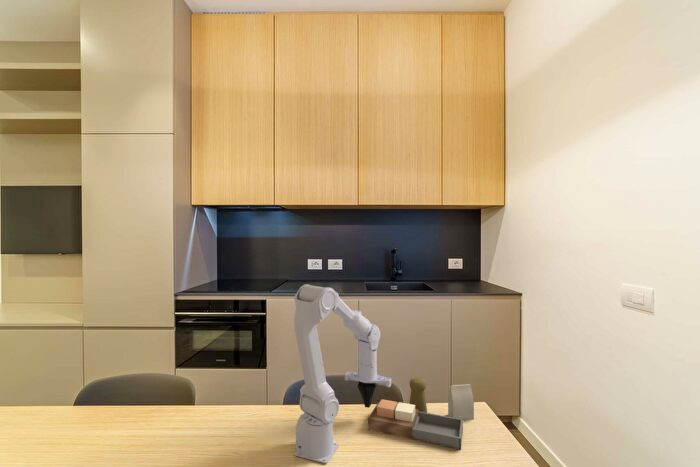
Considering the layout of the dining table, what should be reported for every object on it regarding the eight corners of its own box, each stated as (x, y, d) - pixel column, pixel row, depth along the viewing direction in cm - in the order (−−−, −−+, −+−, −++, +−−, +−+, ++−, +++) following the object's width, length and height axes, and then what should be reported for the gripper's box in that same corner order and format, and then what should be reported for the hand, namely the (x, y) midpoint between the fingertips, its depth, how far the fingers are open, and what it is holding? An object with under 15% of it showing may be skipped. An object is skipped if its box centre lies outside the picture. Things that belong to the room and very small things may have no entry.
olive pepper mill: (427, 419, 106) (427, 383, 106) (408, 417, 107) (407, 382, 107) (427, 409, 112) (427, 375, 112) (408, 407, 113) (408, 374, 113)
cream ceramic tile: (395, 418, 100) (395, 410, 100) (399, 410, 104) (399, 402, 104) (412, 421, 98) (412, 413, 98) (415, 413, 103) (415, 405, 103)
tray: (412, 439, 96) (412, 428, 96) (418, 421, 105) (418, 411, 105) (460, 449, 91) (460, 438, 91) (463, 429, 100) (462, 419, 100)
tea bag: (473, 419, 106) (473, 387, 106) (453, 421, 105) (453, 388, 105) (468, 413, 109) (467, 381, 109) (448, 414, 108) (447, 383, 108)
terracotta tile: (377, 415, 102) (377, 406, 102) (381, 407, 107) (381, 399, 107) (393, 418, 100) (393, 409, 100) (397, 410, 105) (397, 401, 105)
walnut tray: (368, 430, 100) (368, 418, 100) (378, 413, 110) (377, 402, 110) (412, 439, 96) (412, 426, 96) (418, 421, 105) (418, 409, 105)
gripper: (393, 360, 107) (393, 403, 107) (350, 354, 112) (350, 396, 112) (387, 368, 100) (388, 415, 100) (342, 362, 105) (342, 406, 105)
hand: (367, 405), depth 106 cm, fingers closed
